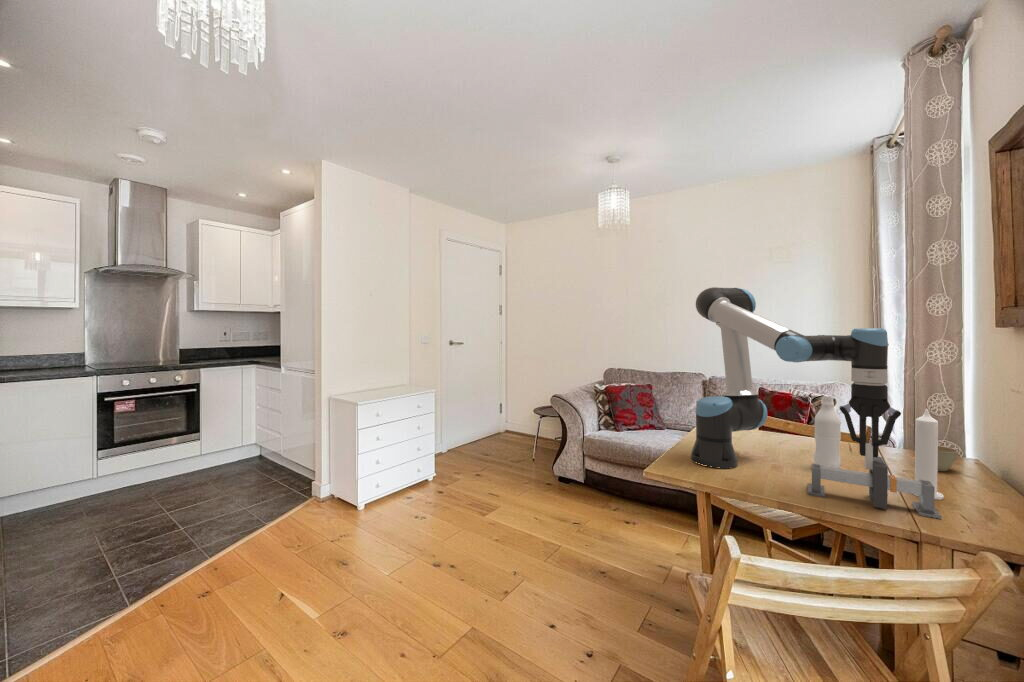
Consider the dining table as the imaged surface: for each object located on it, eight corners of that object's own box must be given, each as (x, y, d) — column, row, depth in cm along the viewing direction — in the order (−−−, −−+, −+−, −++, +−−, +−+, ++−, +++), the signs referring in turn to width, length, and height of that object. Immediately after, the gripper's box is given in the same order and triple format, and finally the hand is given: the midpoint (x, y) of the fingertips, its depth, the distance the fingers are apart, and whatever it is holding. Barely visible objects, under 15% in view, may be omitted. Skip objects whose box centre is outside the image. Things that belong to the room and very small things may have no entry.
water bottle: (841, 474, 131) (841, 399, 130) (813, 470, 135) (814, 397, 134) (840, 468, 136) (840, 396, 136) (813, 464, 141) (814, 394, 140)
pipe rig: (807, 494, 116) (807, 467, 116) (807, 485, 122) (807, 460, 122) (941, 519, 100) (941, 488, 99) (933, 507, 106) (933, 479, 106)
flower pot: (937, 464, 140) (938, 444, 140) (967, 474, 130) (967, 452, 130) (906, 463, 141) (907, 443, 141) (934, 473, 131) (934, 452, 131)
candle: (906, 487, 120) (907, 405, 119) (940, 493, 115) (942, 408, 115) (910, 495, 114) (911, 409, 114) (946, 501, 110) (947, 412, 109)
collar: (874, 506, 106) (874, 466, 106) (869, 493, 115) (869, 455, 115) (887, 509, 104) (887, 468, 104) (880, 495, 113) (881, 457, 113)
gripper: (839, 383, 111) (839, 467, 111) (904, 386, 103) (903, 476, 104) (837, 380, 117) (837, 460, 117) (898, 383, 109) (898, 468, 110)
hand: (868, 467), depth 110 cm, fingers closed
